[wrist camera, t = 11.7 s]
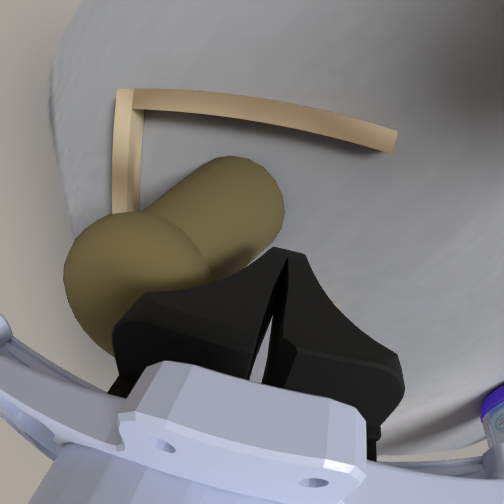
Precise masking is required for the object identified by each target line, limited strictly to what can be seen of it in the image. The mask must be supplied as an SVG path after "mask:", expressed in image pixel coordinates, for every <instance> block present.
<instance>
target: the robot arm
mask: <svg viewBox="0 0 504 504" xmlns="http://www.w3.org/2000/svg"><path fill="white" fill-rule="evenodd" d="M272 316H273V318H272ZM271 318H272V326H271V334H270V341H269V349H268V356H267V362H266V367H265V371H264V375H263V379H262V383H257V382H253V381H250V380H249V379H250V375H251V372H252V368H253V365H254V362H255V359H256V356H257V354H258V351H259V349H260V346H261V344H262V341H263V339H264V336H265V334H266V331H267V329H268V326H269V324H270V321H271ZM111 336H112V346H113V351H114V355H115V360H116V364H117V368H118V372H119V376H118V378H117V379H116V381H115V382H114V384H113V385H112V386H111V388H110V390H109V391H108V392H105V391H103V390H101V389H99V388H97V387H96V386H94V385H92V384H90V383H88V382H86V381H84V380H82V379H80V378H79V377H77V376H75V375H73V374H71V373H70V372H68V371H66V370H64V369H63V368H61V367H59V366H58V365H56V364H54V363H53V362H51V361H49V360H48V359H46V358H45V357H43V356H42V355H40V354H38V353H37V352H35V351H34V350H32V349H31V348H29V347H28V346H26V345H25V344H24V343H22V342H21V341H19V340H18V339H16V338H15V337H14V336H13V334H12V331H11V328H10V326H9V324H8V322H7V320H6V319H5V318H4V317H3V316H2V315H1V314H0V416H1V417H2V418H3V419H4V420H5V421H6V422H7V423H8V424H9V425H10V426H12V427H13V428H14V429H15V430H16V431H17V432H18V433H19V434H20V435H22V436H23V437H24V438H25V439H26V440H28V441H29V442H30V443H31V444H32V445H33V446H35V447H36V448H37V449H38V450H40V451H41V452H42V453H44V454H45V455H46V456H47V457H49V458H50V459H51V460H53V461H54V463H53V464H52V466H51V467H50V469H49V471H48V472H47V474H46V475H45V477H44V478H43V480H42V482H41V483H40V485H39V486H38V488H37V490H36V491H35V493H34V495H33V496H32V498H31V500H30V501H29V503H28V504H504V442H500V443H497V444H496V445H494V446H492V447H491V448H490V449H488V450H487V451H486V452H485V453H484V454H483V455H482V456H478V457H471V458H463V459H453V460H441V461H424V462H423V461H422V462H378V461H377V460H376V459H377V456H376V441H378V440H379V439H380V437H381V428H380V425H381V424H382V423H383V422H384V421H385V420H386V419H387V418H388V417H389V415H390V414H391V413H392V412H393V411H394V410H395V408H396V407H397V406H398V405H399V403H400V402H401V400H402V398H403V396H404V391H405V385H404V380H403V374H402V369H401V365H400V362H399V358H398V355H397V354H396V353H394V352H393V351H391V350H389V349H388V348H386V347H385V346H383V345H381V344H380V343H378V342H376V341H375V340H373V339H372V338H371V337H369V336H368V335H367V334H365V333H364V332H363V331H361V330H360V329H359V328H358V327H356V326H355V325H354V324H353V323H352V322H351V321H350V320H349V319H348V318H347V317H346V316H344V315H343V314H342V312H341V311H340V310H339V309H338V308H337V307H336V306H335V305H334V303H333V302H332V301H331V300H330V299H329V297H328V296H327V295H326V293H325V292H324V290H323V289H322V287H321V286H320V284H319V282H318V280H317V279H316V277H315V275H314V273H313V271H312V269H311V267H310V264H309V262H308V260H307V257H306V256H305V254H302V253H298V252H294V251H290V250H286V249H281V248H277V247H272V248H270V249H269V250H268V251H267V252H266V253H265V254H264V255H262V256H261V257H260V258H258V259H257V260H256V261H254V262H253V263H251V264H250V265H249V266H247V267H245V268H244V269H242V270H240V271H239V272H237V273H235V274H233V275H231V276H228V277H226V278H224V279H221V280H218V281H215V282H212V283H208V284H205V285H202V286H198V287H193V288H188V289H181V290H174V291H160V292H145V293H144V294H143V295H142V296H141V297H140V298H139V299H138V300H137V301H136V302H135V303H134V304H133V305H132V306H131V307H130V308H129V309H128V311H127V312H126V313H125V314H124V315H123V316H122V318H121V319H120V320H119V321H118V322H117V323H116V325H115V326H114V328H113V331H112V334H111Z"/></svg>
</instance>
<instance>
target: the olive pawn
mask: <svg viewBox="0 0 504 504" xmlns="http://www.w3.org/2000/svg"><path fill="white" fill-rule="evenodd" d="M284 213H285V212H284V203H283V196H282V194H281V192H280V189H279V187H278V185H277V183H276V181H275V180H274V178H273V177H272V176H271V175H270V174H269V173H268V172H267V171H266V170H265V169H264V168H263V167H262V166H260V165H258V164H256V163H255V162H253V161H251V160H249V159H246V158H241V157H236V156H226V157H219V158H215V159H213V160H211V161H210V162H208V163H206V164H204V165H202V166H201V167H200V168H198V169H197V170H196V171H194V172H193V173H191V174H190V175H189V176H187V177H186V178H185V179H183V180H182V181H181V182H179V183H178V184H177V185H176V186H174V187H173V188H172V189H170V190H169V191H168V192H167V193H165V194H164V195H163V196H161V197H160V198H159V199H158V200H156V201H155V202H154V203H153V204H151V205H150V206H149V207H148V208H146V209H145V210H144V211H141V210H139V211H131V212H123V213H115V214H109V215H107V216H105V217H103V218H101V219H99V220H97V221H96V222H94V223H93V224H92V225H90V226H89V227H88V228H86V229H85V230H84V231H83V232H82V233H81V234H80V235H79V236H78V237H77V238H76V239H75V241H74V243H73V245H72V247H71V249H70V251H69V254H68V256H67V259H66V261H65V264H64V277H63V281H64V285H65V290H66V295H67V299H68V302H69V304H70V307H71V309H72V311H73V313H74V315H75V318H76V319H77V321H78V322H79V324H80V325H81V327H82V328H83V329H84V331H85V332H86V333H87V334H88V335H89V337H90V338H91V339H92V340H93V341H94V342H95V343H96V344H97V345H98V346H100V347H101V348H102V349H103V350H105V351H106V352H107V353H108V354H110V355H112V356H114V357H115V355H114V351H113V346H112V336H111V334H112V331H113V328H114V326H115V325H116V323H117V322H118V321H119V320H120V319H121V318H122V316H123V315H124V314H125V313H126V312H127V311H128V309H129V308H130V307H131V306H132V305H133V304H134V303H135V302H136V301H137V300H138V299H139V298H140V297H141V296H142V295H143V294H144V293H145V292H160V291H174V290H181V289H188V288H193V287H198V286H202V285H205V284H208V283H212V282H215V281H218V280H221V279H224V278H226V277H228V276H231V275H233V274H235V273H237V272H239V271H240V270H242V269H244V268H245V267H246V266H247V265H248V264H249V263H250V262H251V261H252V260H253V259H254V258H256V257H257V256H258V255H259V254H260V253H261V252H262V251H263V250H264V249H265V248H266V247H268V246H269V245H270V244H271V243H272V242H273V241H274V239H275V238H276V236H277V234H278V233H279V231H280V230H281V227H282V223H283V218H284Z"/></svg>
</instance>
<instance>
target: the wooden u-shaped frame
mask: <svg viewBox="0 0 504 504" xmlns="http://www.w3.org/2000/svg"><path fill="white" fill-rule="evenodd" d="M145 109H147V110H165V111H178V112H189V113H199V114H208V115H216V116H224V117H231V118H238V119H245V120H251V121H257V122H263V123H269V124H274V125H279V126H285V127H290V128H294V129H299V130H304V131H308V132H313V133H317V134H321V135H325V136H329V137H333V138H337V139H341V140H345V141H349V142H352V143H356V144H360V145H363V146H367V147H370V148H373V149H377V150H380V151H383V152H386V153H389V154H392V155H393V151H394V147H395V143H396V138H397V134H398V131H395V130H392V129H389V128H386V127H382V126H379V125H376V124H373V123H369V122H366V121H363V120H359V119H355V118H352V117H348V116H344V115H340V114H337V113H333V112H328V111H324V110H320V109H316V108H311V107H306V106H302V105H297V104H292V103H286V102H281V101H275V100H269V99H263V98H257V97H250V96H242V95H234V94H226V93H216V92H205V91H193V90H175V89H117V97H116V107H115V118H114V132H113V152H112V214H115V213H123V212H131V211H139V196H140V168H141V151H142V137H143V125H144V115H145ZM333 303H334V302H333ZM334 305H335V306H336V307H337V308H338V306H337V303H334ZM272 318H273V316H272Z"/></svg>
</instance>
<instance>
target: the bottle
mask: <svg viewBox="0 0 504 504" xmlns="http://www.w3.org/2000/svg"><path fill="white" fill-rule="evenodd" d="M481 422H482V424H483V428H484V431H485V435H486V438H487V442H488V446H489V449H490V448H491V447H492V446H494V445H496V444H497V443H500V442H504V385H503V386H501V387H500V388H498V389H497V390H495V391H494V392H492V393H491V394H490V395H489V396H487V397H486V398H485V400H484V402H483V404H482V407H481Z"/></svg>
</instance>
